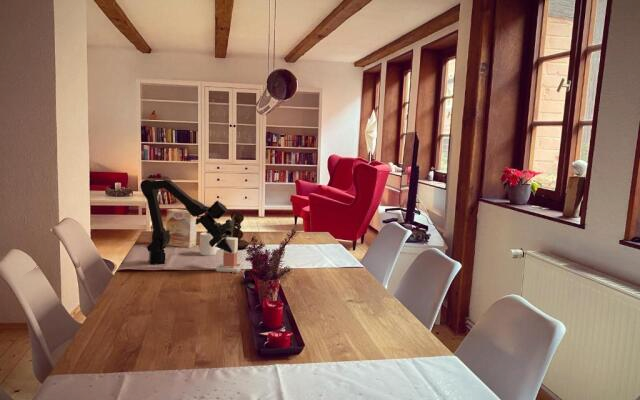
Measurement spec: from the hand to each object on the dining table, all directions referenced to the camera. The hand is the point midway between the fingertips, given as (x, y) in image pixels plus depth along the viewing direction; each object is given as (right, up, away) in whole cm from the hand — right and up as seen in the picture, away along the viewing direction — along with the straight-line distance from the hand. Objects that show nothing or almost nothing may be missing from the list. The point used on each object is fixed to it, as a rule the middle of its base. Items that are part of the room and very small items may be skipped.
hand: (233, 251), depth 224 cm
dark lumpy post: (-7, -3, +48) cm, 49 cm away
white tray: (-2, -8, +1) cm, 9 cm away
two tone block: (-2, -6, +1) cm, 7 cm away
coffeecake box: (-37, -2, +45) cm, 58 cm away
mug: (-17, -5, +29) cm, 34 cm away
